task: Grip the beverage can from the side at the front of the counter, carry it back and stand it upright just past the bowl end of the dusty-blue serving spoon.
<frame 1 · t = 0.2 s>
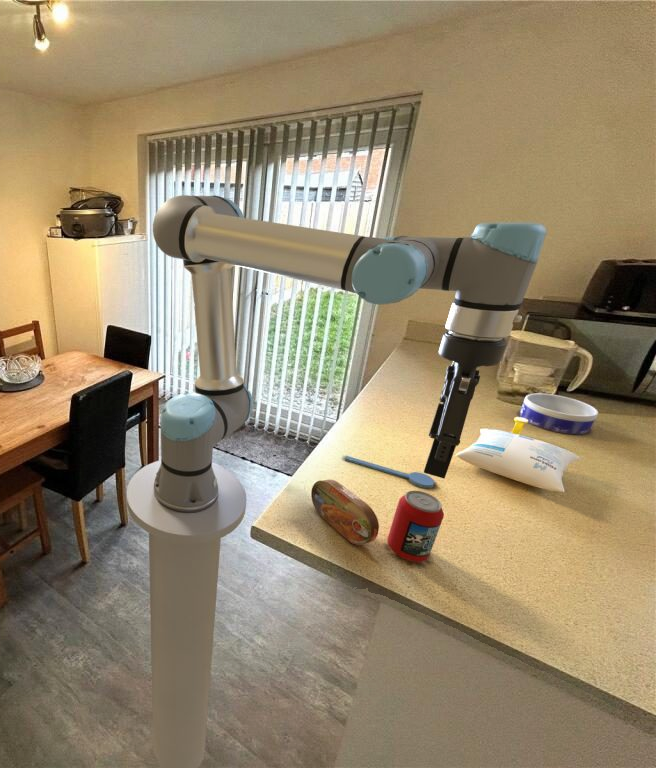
hand: (435, 454, 67), 21 cm above the countertop, tool pointing down, fingers open, 13 cm apart
spoon: (389, 472, 96), on the countertop
tin: (339, 526, 80), on the countertop
pouch: (510, 470, 96), on the countertop
dog bowl: (552, 422, 117), on the countertop
beverage can: (406, 551, 74), on the countertop
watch: (513, 438, 110), on the countertop
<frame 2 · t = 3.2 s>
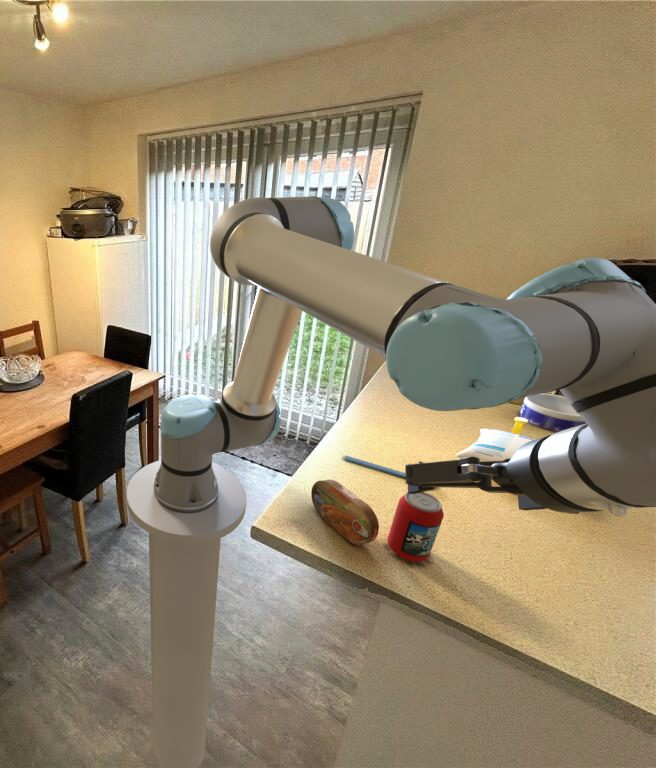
hand: (463, 492, 56), 22 cm above the countertop, tool tilted 45°, fingers open, 13 cm apart
nothing on the countertop moved.
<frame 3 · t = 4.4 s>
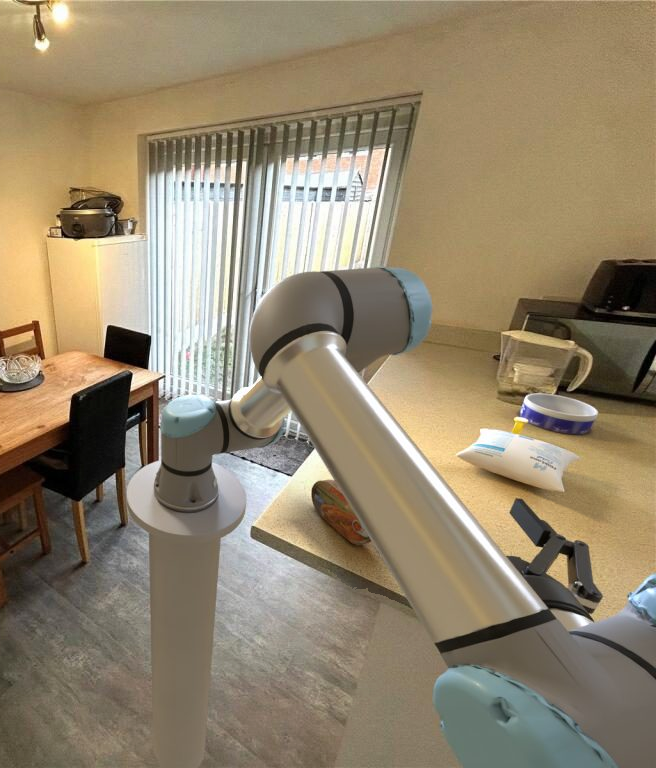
hand: (459, 497, 58), 20 cm above the countertop, tool horizontal, fingers open, 13 cm apart
nothing on the countertop moved.
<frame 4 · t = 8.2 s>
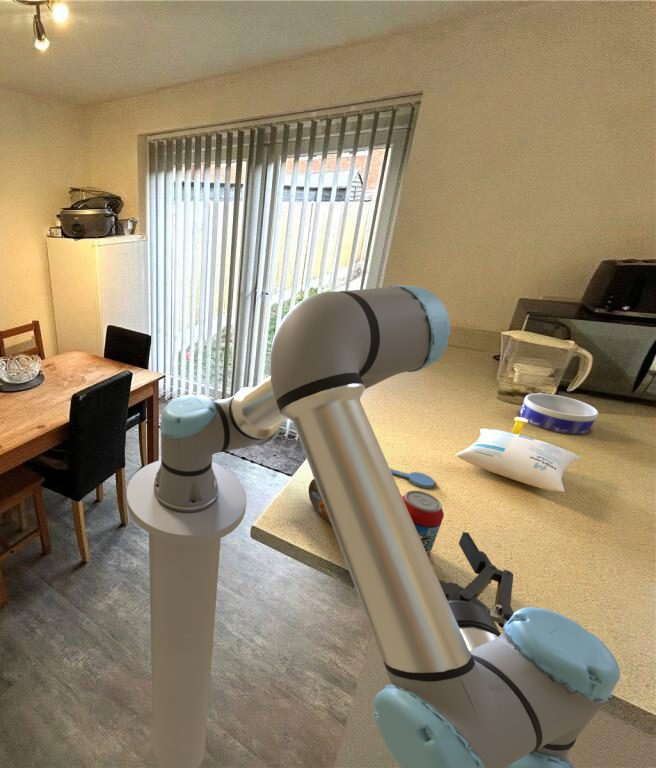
hand: (418, 530, 70), 7 cm above the countertop, tool horizontal, fingers open, 13 cm apart
tin: (336, 522, 81), on the countertop, touching gripper
everything else where it was.
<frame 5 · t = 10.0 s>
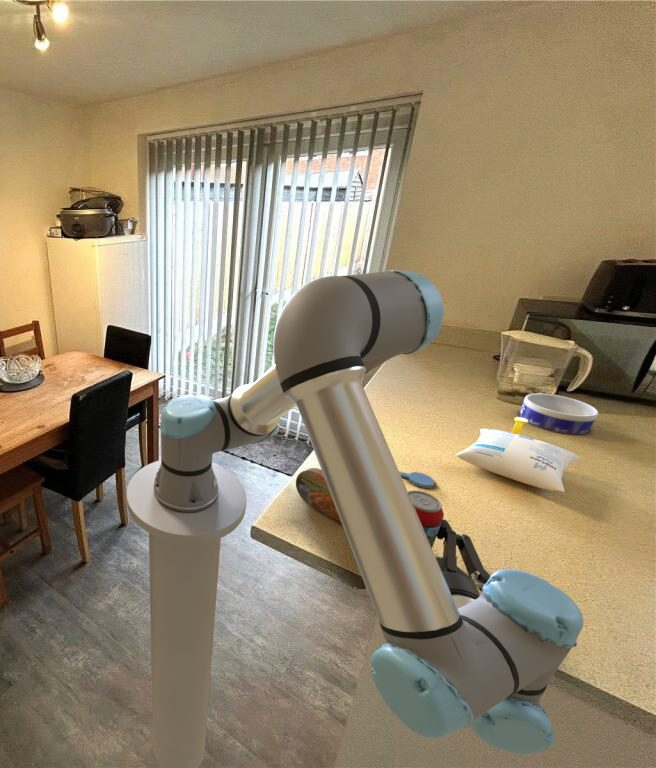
hand: (407, 505, 76), 7 cm above the countertop, tool horizontal, fingers closed on beverage can, 7 cm apart
tin: (327, 511, 85), on the countertop
beverage can: (406, 551, 74), on the countertop, touching gripper
everything else where it was.
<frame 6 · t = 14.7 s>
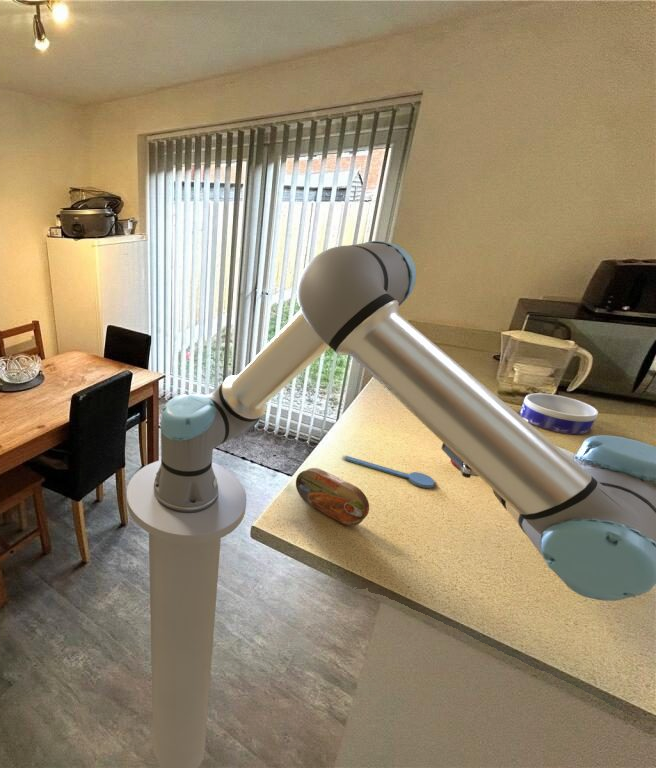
hand: (469, 428, 80), 18 cm above the countertop, tool horizontal, fingers closed on beverage can, 7 cm apart
beverage can: (469, 470, 78), point 11 cm above the countertop, touching gripper
everything else where it was.
when the fingers open (7 cm above the countertop, at t = 19.4 s): beverage can stays where it is, on the countertop.
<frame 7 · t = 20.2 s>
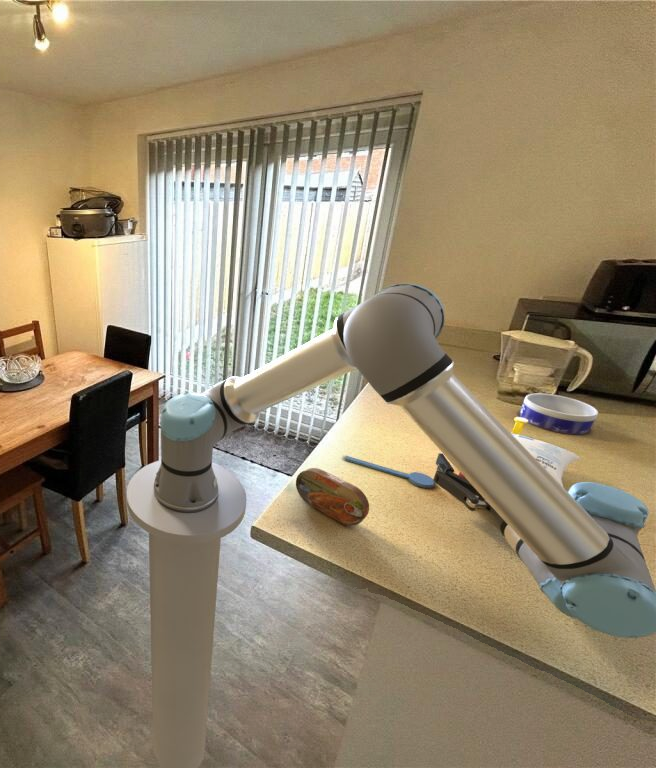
hand: (474, 462, 88), 7 cm above the countertop, tool horizontal, fingers open, 13 cm apart
beverage can: (471, 497, 87), on the countertop
everything else where it was.
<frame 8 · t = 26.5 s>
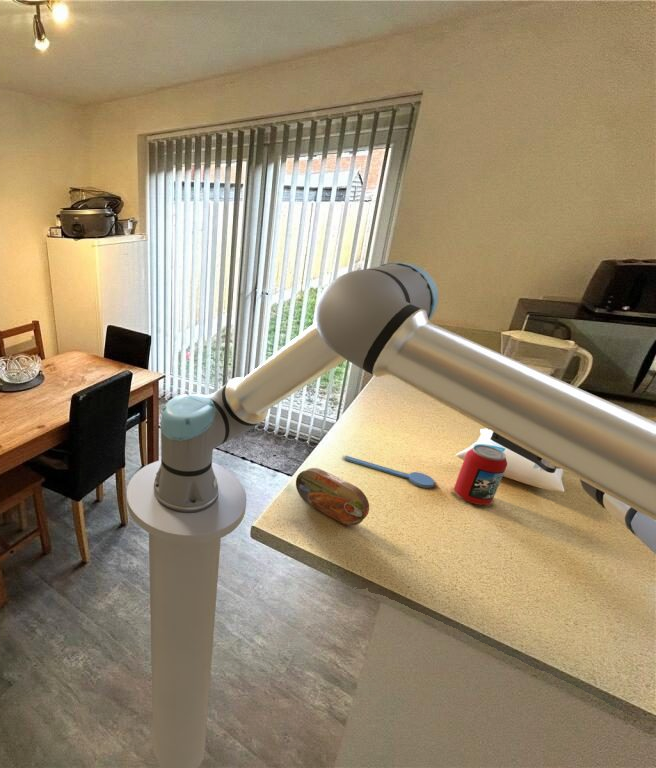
hand: (539, 418, 69), 25 cm above the countertop, tool horizontal, fingers open, 13 cm apart
nothing on the countertop moved.
at the end: beverage can inside the target area on the countertop beside the spoon (0.5 cm from its centre), on the countertop; beverage can tilted 0°; the gripper is holding nothing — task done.
